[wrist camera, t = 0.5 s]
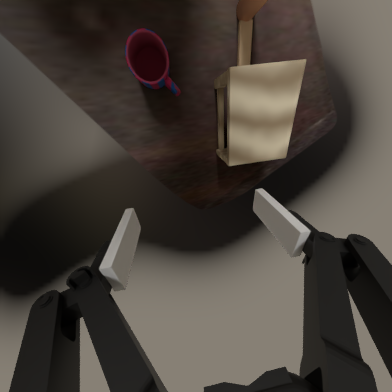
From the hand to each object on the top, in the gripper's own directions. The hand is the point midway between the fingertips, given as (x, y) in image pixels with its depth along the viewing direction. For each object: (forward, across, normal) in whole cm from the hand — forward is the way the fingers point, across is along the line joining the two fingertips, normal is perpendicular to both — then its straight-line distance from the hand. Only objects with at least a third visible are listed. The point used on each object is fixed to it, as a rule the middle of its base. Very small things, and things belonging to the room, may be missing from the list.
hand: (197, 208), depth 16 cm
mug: (+26, -3, +15) cm, 30 cm away
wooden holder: (+26, +15, +6) cm, 31 cm away
